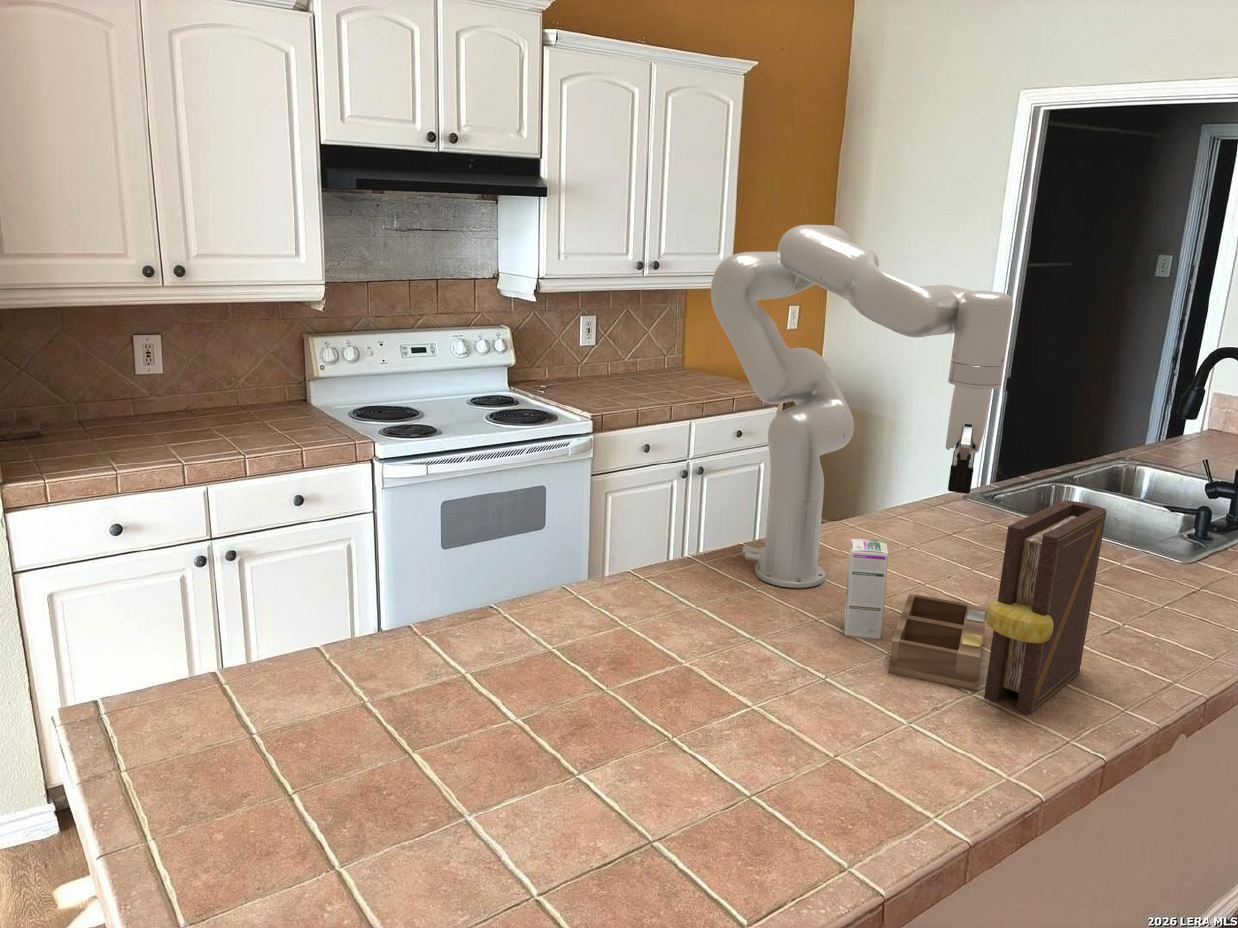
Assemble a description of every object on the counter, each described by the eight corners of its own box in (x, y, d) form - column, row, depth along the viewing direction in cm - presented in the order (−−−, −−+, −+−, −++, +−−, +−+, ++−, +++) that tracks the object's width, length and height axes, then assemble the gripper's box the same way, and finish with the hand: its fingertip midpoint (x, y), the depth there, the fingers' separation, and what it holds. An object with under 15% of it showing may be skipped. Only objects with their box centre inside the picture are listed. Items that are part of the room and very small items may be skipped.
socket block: (975, 690, 133) (980, 655, 132) (888, 672, 138) (892, 638, 136) (983, 636, 151) (988, 605, 149) (905, 621, 155) (909, 591, 154)
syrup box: (881, 640, 148) (891, 552, 144) (842, 636, 149) (851, 549, 146) (879, 625, 154) (888, 540, 150) (842, 621, 155) (850, 537, 151)
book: (1033, 653, 145) (1057, 497, 139) (1091, 673, 139) (1119, 511, 133) (966, 701, 130) (990, 528, 124) (1028, 725, 124) (1056, 545, 118)
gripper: (951, 364, 152) (937, 467, 156) (946, 381, 136) (931, 495, 141) (1002, 368, 149) (986, 473, 154) (1002, 386, 134) (984, 502, 138)
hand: (959, 483), depth 147 cm, fingers open, 9 cm apart
